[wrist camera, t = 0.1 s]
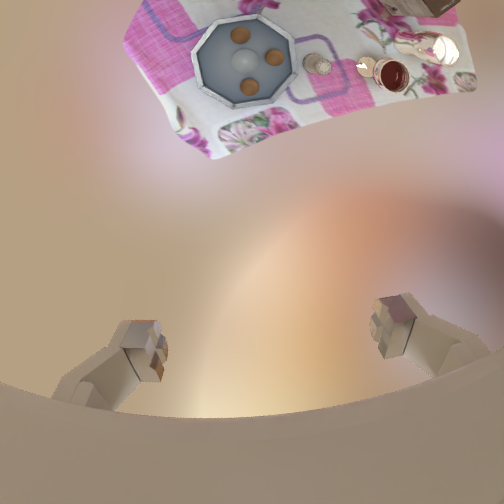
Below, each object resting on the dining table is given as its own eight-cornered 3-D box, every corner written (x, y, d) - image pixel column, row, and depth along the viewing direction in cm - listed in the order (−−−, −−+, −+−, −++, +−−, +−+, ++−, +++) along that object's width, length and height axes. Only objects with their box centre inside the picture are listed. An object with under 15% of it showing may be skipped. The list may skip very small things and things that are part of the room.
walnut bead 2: (247, 74, 45) (248, 76, 43) (262, 84, 47) (263, 86, 44) (236, 87, 47) (236, 90, 44) (251, 97, 49) (252, 101, 46)
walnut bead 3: (271, 45, 41) (274, 45, 38) (286, 55, 43) (289, 56, 40) (260, 58, 43) (261, 59, 40) (275, 68, 45) (277, 70, 42)
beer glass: (385, 37, 39) (426, 43, 28) (405, 23, 35) (448, 28, 24) (403, 61, 42) (444, 74, 31) (421, 47, 39) (464, 58, 28)
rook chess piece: (328, 64, 44) (341, 69, 39) (312, 77, 47) (324, 83, 41) (313, 49, 42) (325, 51, 37) (297, 62, 44) (307, 66, 39)
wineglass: (386, 64, 43) (416, 74, 35) (371, 86, 47) (398, 100, 39) (362, 46, 41) (391, 51, 32) (347, 69, 45) (372, 79, 36)
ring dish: (233, 1, 34) (233, -1, 32) (312, 54, 43) (316, 55, 41) (177, 74, 45) (174, 76, 42) (254, 120, 53) (255, 124, 51)
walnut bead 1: (237, 24, 38) (238, 22, 35) (253, 33, 39) (255, 33, 37) (226, 37, 39) (226, 37, 37) (242, 47, 41) (242, 47, 38)
